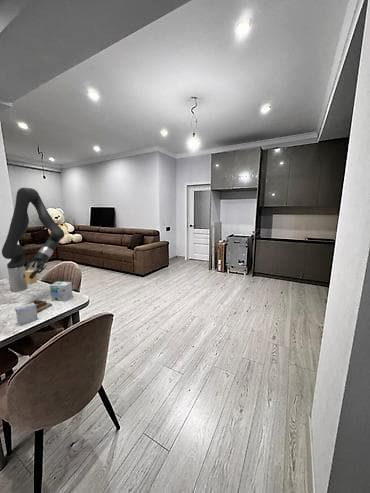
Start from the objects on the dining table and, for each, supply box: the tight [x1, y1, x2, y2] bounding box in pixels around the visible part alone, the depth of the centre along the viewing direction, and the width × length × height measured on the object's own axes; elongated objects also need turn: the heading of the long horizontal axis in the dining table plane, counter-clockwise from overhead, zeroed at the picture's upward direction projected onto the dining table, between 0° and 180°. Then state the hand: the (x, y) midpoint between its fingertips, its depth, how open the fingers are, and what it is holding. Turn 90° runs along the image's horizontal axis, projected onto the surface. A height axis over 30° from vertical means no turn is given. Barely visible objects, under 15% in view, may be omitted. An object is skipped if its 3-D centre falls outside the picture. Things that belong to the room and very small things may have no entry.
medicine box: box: [14, 302, 38, 326], centre depth 105 cm, size 8×4×9 cm, turn 141°
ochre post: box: [25, 269, 38, 285], centre depth 125 cm, size 4×4×8 cm
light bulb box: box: [49, 281, 74, 302], centre depth 131 cm, size 11×7×11 cm, turn 88°
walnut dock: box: [24, 299, 53, 314], centre depth 118 cm, size 12×12×3 cm
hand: (27, 277), depth 123 cm, fingers closed on ochre post, 4 cm apart
